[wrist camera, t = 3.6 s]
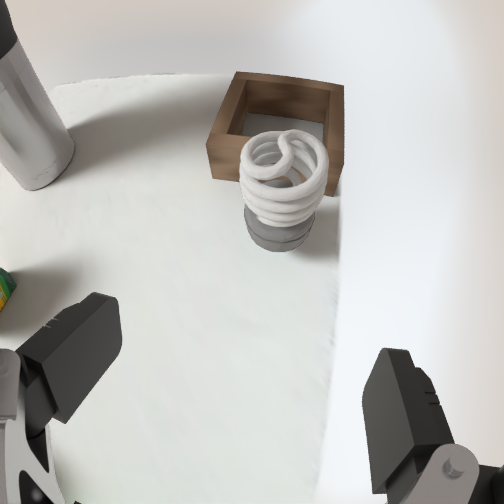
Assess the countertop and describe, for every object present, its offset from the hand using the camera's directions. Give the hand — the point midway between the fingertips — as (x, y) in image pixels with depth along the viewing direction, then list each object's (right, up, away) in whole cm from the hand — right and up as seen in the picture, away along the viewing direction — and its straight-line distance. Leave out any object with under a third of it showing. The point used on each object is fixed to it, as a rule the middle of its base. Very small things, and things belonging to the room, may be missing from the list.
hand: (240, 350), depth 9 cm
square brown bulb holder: (+3, +15, +24) cm, 28 cm away
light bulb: (+3, +4, +20) cm, 20 cm away
